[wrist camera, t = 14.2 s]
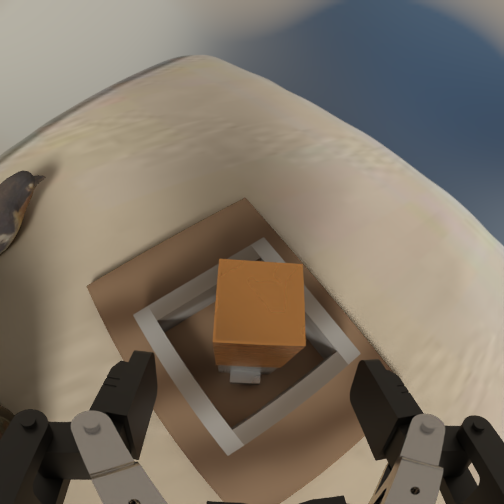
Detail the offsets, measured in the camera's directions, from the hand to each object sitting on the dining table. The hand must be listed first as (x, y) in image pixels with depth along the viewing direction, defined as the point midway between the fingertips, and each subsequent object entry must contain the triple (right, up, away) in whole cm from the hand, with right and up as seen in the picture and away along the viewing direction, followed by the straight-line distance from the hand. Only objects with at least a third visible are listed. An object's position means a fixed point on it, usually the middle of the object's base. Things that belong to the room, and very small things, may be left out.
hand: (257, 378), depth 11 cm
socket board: (-1, -3, +12) cm, 12 cm away
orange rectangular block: (-1, -2, +11) cm, 11 cm away
